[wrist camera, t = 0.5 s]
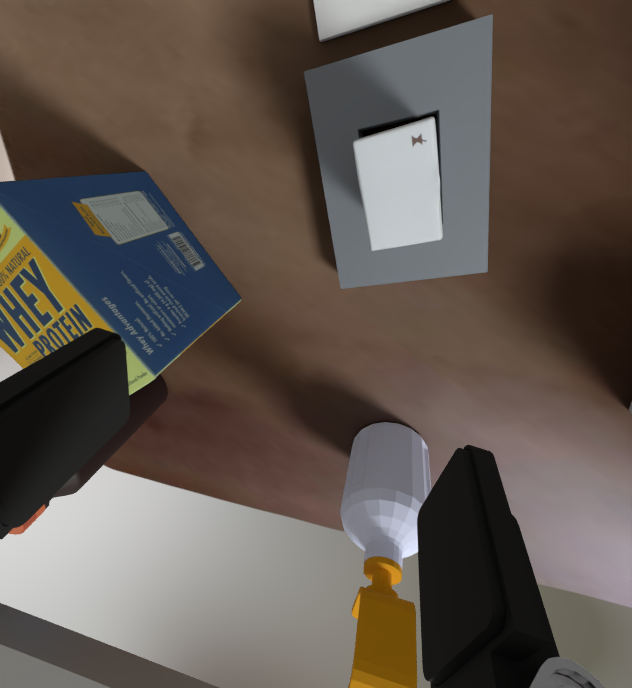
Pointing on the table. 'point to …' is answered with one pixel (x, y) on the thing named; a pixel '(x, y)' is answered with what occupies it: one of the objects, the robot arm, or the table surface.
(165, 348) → the protein box
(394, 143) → the skincare box
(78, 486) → the vinegar
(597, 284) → the table surface
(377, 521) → the soap bottle
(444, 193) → the slotted board
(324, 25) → the white flat plate
